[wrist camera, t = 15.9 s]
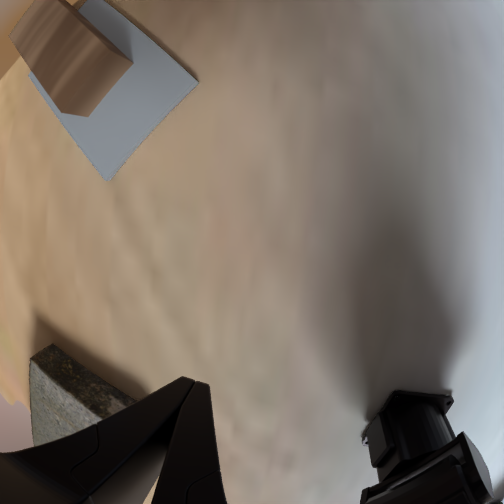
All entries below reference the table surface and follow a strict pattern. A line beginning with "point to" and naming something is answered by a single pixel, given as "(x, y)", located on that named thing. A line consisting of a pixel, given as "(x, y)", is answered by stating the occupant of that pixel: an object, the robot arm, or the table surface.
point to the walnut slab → (68, 55)
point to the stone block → (67, 396)
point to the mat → (125, 94)
